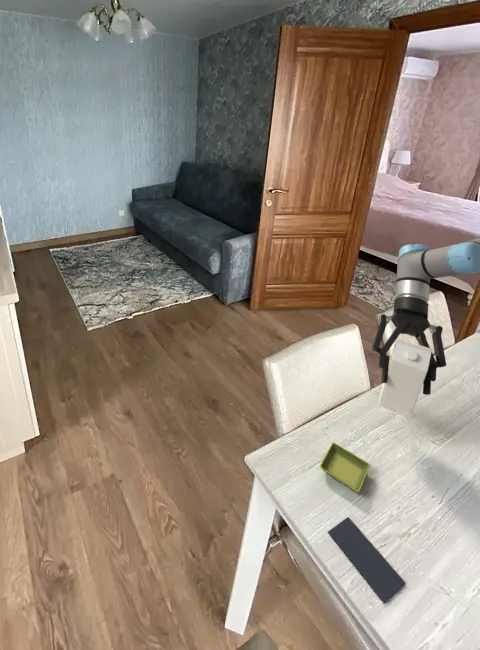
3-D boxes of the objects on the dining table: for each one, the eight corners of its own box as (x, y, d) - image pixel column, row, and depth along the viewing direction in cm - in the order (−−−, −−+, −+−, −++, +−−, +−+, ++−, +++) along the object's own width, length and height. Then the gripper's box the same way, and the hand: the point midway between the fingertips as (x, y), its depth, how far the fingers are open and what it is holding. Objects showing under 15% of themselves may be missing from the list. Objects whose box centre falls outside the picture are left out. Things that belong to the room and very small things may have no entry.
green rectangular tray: (356, 499, 76) (359, 492, 75) (317, 472, 81) (319, 466, 80) (368, 470, 82) (370, 464, 81) (331, 447, 87) (332, 441, 86)
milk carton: (381, 388, 95) (398, 331, 88) (411, 400, 91) (432, 341, 84) (378, 405, 89) (396, 345, 82) (410, 419, 86) (432, 357, 78)
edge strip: (404, 583, 62) (405, 582, 62) (383, 603, 60) (384, 602, 60) (347, 517, 72) (348, 516, 72) (327, 532, 70) (327, 531, 70)
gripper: (453, 313, 91) (450, 402, 83) (364, 295, 99) (354, 376, 91) (465, 305, 85) (464, 402, 77) (369, 287, 93) (359, 373, 85)
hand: (404, 388), depth 84 cm, fingers closed on milk carton, 8 cm apart
